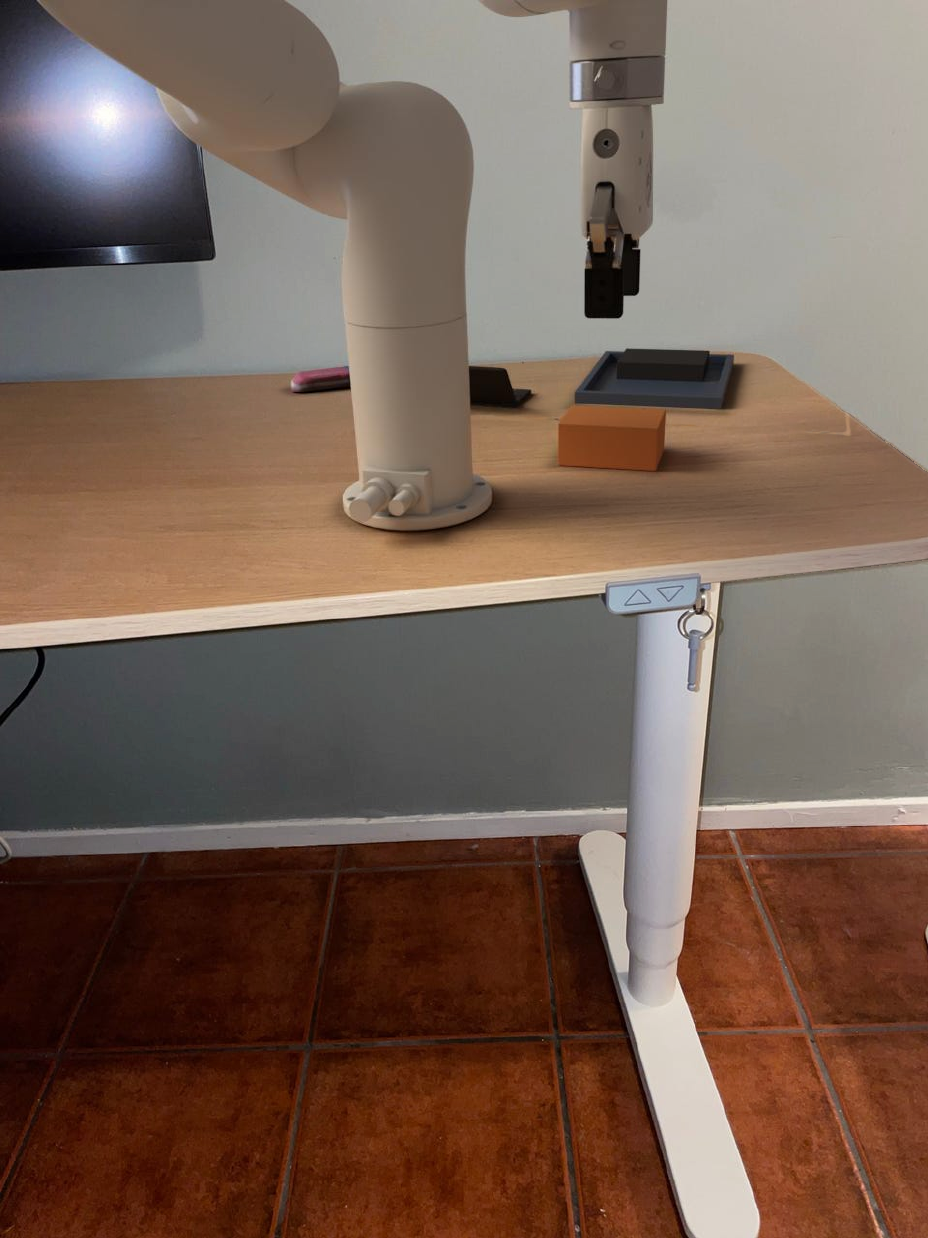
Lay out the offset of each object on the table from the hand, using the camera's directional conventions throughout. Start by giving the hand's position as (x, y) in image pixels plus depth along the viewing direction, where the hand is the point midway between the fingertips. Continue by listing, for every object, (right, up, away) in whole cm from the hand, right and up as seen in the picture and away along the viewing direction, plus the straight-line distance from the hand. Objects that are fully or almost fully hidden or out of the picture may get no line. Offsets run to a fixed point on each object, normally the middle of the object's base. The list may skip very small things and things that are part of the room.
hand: (612, 305), depth 88 cm
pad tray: (+9, -1, +27) cm, 29 cm away
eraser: (-28, +1, +34) cm, 44 cm away
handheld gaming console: (-12, -4, +23) cm, 27 cm away
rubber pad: (+11, +2, +31) cm, 33 cm away
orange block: (+1, -13, +6) cm, 14 cm away
